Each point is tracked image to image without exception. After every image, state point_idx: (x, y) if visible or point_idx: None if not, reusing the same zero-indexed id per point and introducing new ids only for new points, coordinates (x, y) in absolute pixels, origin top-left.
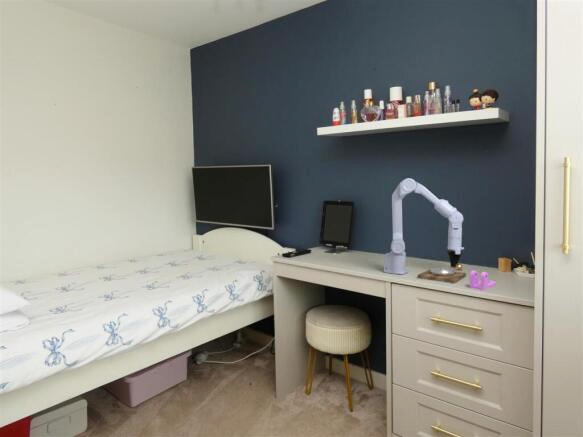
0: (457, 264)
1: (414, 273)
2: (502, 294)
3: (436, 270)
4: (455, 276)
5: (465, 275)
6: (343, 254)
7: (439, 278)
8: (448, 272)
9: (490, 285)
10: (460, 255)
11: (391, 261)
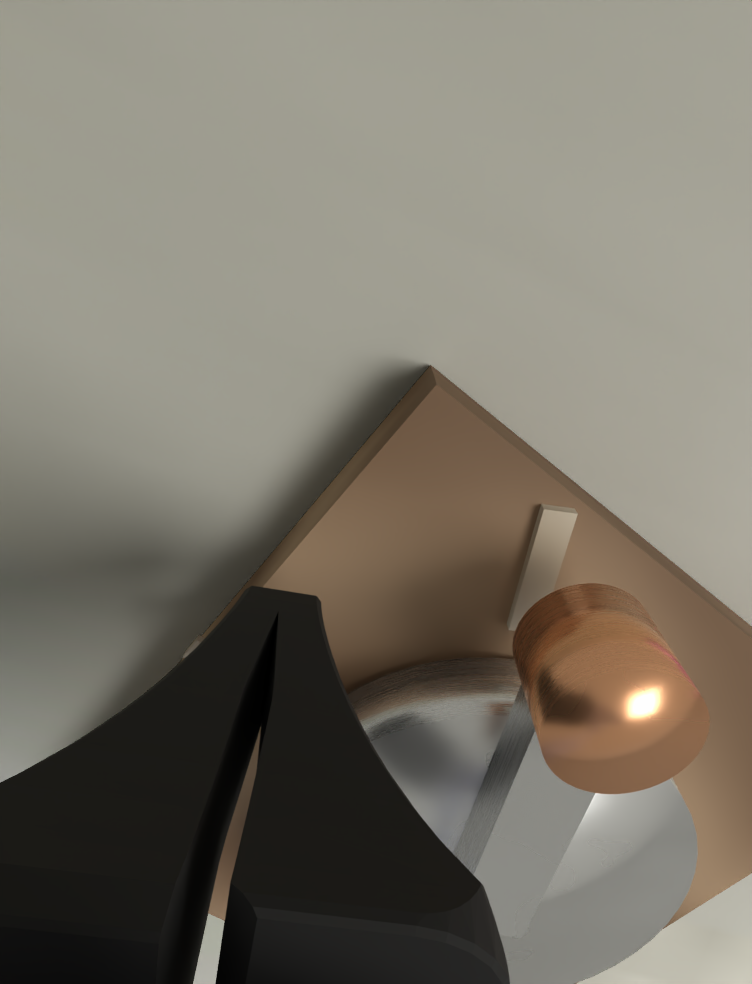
0: (573, 752)
1: (199, 962)
2: None
3: (548, 963)
4: (704, 692)
5: (454, 389)
6: None
7: (705, 887)
8: (692, 842)
9: None
10: (458, 877)
11: None
